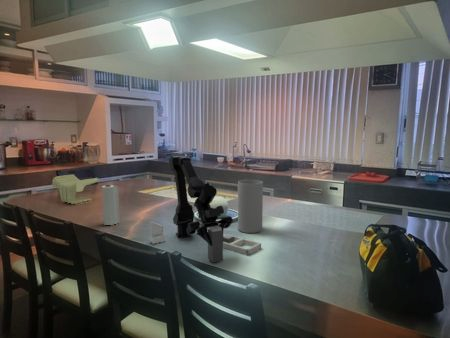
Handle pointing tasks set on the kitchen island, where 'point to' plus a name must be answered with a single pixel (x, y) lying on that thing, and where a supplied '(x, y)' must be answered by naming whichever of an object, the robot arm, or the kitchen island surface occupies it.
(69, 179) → the pale green plastic piece
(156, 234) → the white angled block
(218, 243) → the iec plug
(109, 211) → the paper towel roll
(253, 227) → the cylinder vase
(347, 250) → the kitchen island surface
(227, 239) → the beige divided rectangular frame
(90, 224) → the kitchen island surface
